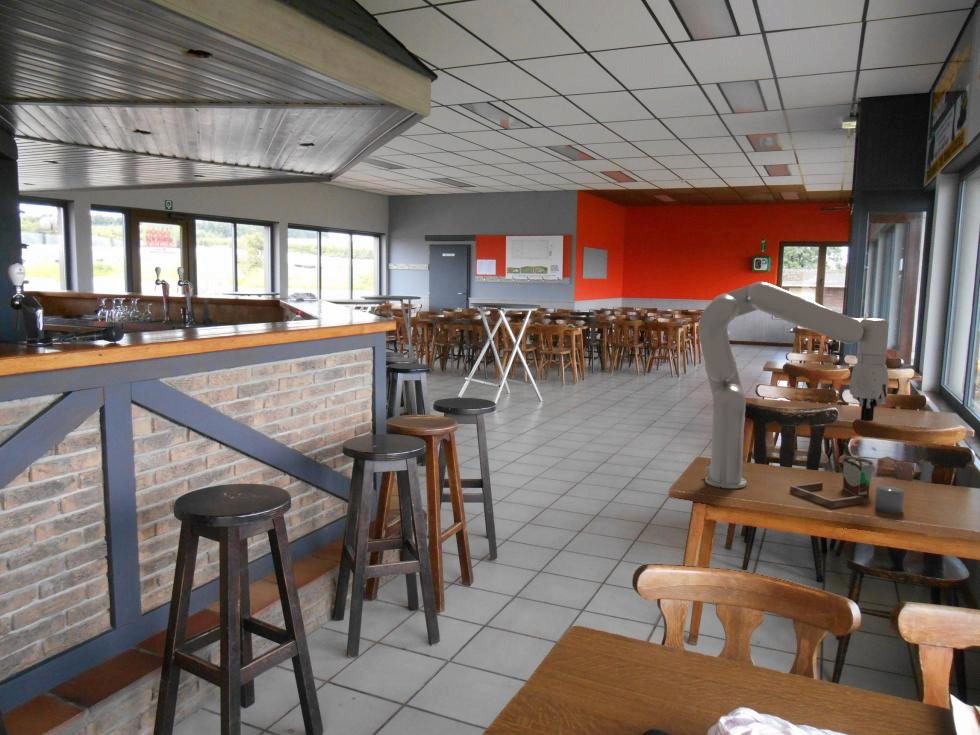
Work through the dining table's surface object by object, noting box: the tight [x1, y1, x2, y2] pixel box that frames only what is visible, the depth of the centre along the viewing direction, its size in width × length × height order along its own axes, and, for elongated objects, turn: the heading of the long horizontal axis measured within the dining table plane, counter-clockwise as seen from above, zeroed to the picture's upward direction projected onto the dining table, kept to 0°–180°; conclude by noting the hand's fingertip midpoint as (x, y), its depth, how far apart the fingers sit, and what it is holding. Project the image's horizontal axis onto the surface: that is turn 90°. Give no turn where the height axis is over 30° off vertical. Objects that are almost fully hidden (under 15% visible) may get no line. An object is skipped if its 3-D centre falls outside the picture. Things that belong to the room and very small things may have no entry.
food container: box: [841, 455, 876, 498], centre depth 222 cm, size 12×6×10 cm, turn 0°
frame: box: [789, 481, 864, 509], centre depth 217 cm, size 16×12×2 cm
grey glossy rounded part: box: [874, 485, 905, 515], centre depth 206 cm, size 7×7×6 cm
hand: (866, 420), depth 219 cm, fingers closed
